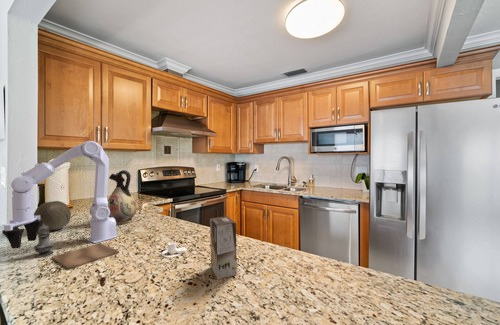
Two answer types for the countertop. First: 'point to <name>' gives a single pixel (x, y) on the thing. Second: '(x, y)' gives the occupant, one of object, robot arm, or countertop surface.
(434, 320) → the countertop surface
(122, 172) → the ceramic jug
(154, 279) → the countertop surface
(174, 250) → the teacup and saucer
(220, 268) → the coffee box
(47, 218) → the grey rounded lump
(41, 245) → the dark grey turned piece
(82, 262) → the walnut board
